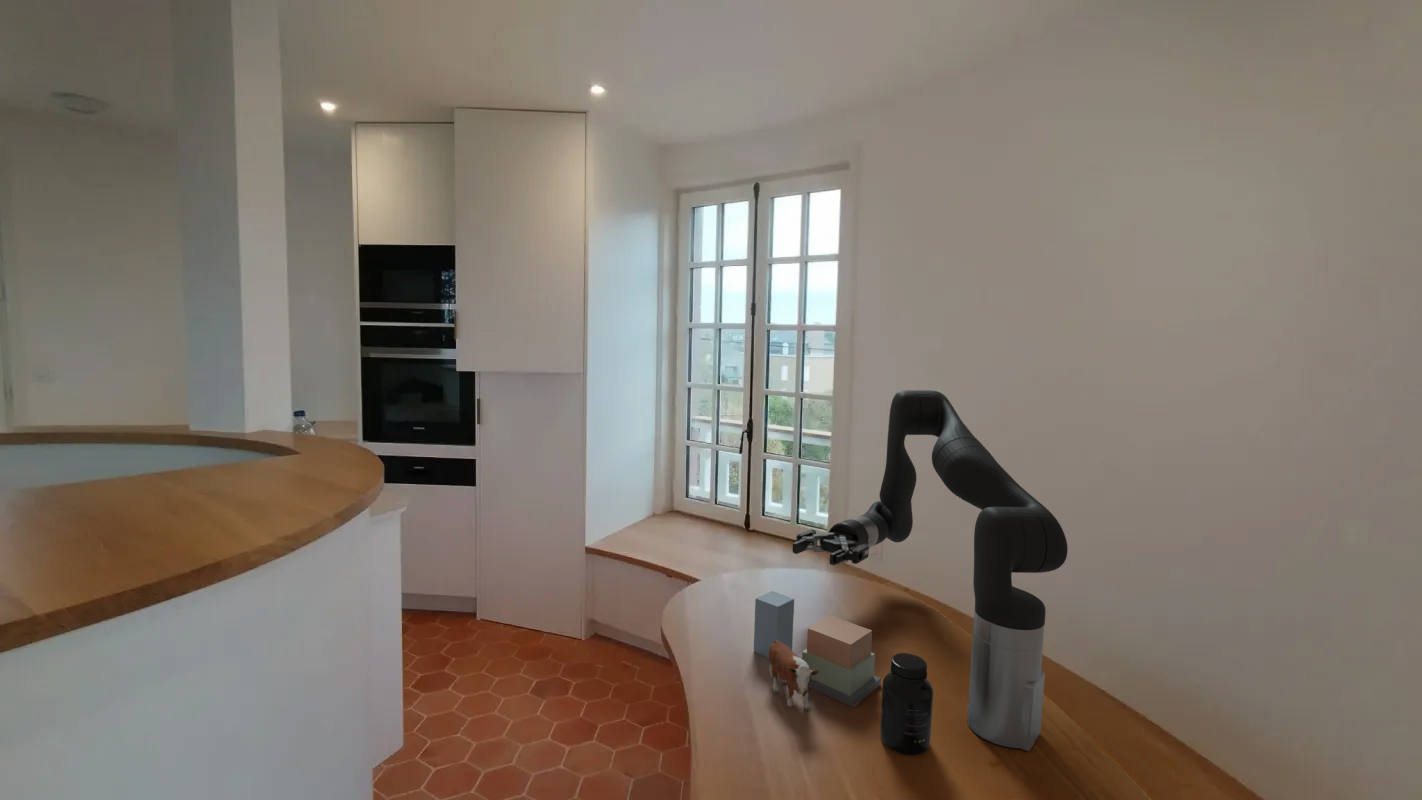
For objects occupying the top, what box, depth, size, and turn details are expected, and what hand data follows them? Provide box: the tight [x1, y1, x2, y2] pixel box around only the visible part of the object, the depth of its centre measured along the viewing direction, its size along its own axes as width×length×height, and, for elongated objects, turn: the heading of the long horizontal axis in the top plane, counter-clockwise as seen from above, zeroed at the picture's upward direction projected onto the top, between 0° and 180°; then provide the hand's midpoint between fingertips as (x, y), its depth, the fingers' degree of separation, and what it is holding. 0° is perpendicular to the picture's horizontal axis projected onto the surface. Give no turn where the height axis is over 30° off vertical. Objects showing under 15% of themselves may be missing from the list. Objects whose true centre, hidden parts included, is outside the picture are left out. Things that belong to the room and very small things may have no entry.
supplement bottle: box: [879, 652, 934, 757], centre depth 87 cm, size 7×7×12 cm
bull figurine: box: [768, 640, 819, 711], centre depth 97 cm, size 4×13×8 cm, turn 15°
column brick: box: [753, 590, 795, 659], centre depth 112 cm, size 5×5×10 cm
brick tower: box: [801, 615, 882, 708], centre depth 102 cm, size 11×9×9 cm
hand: (812, 554), depth 121 cm, fingers open, 8 cm apart
